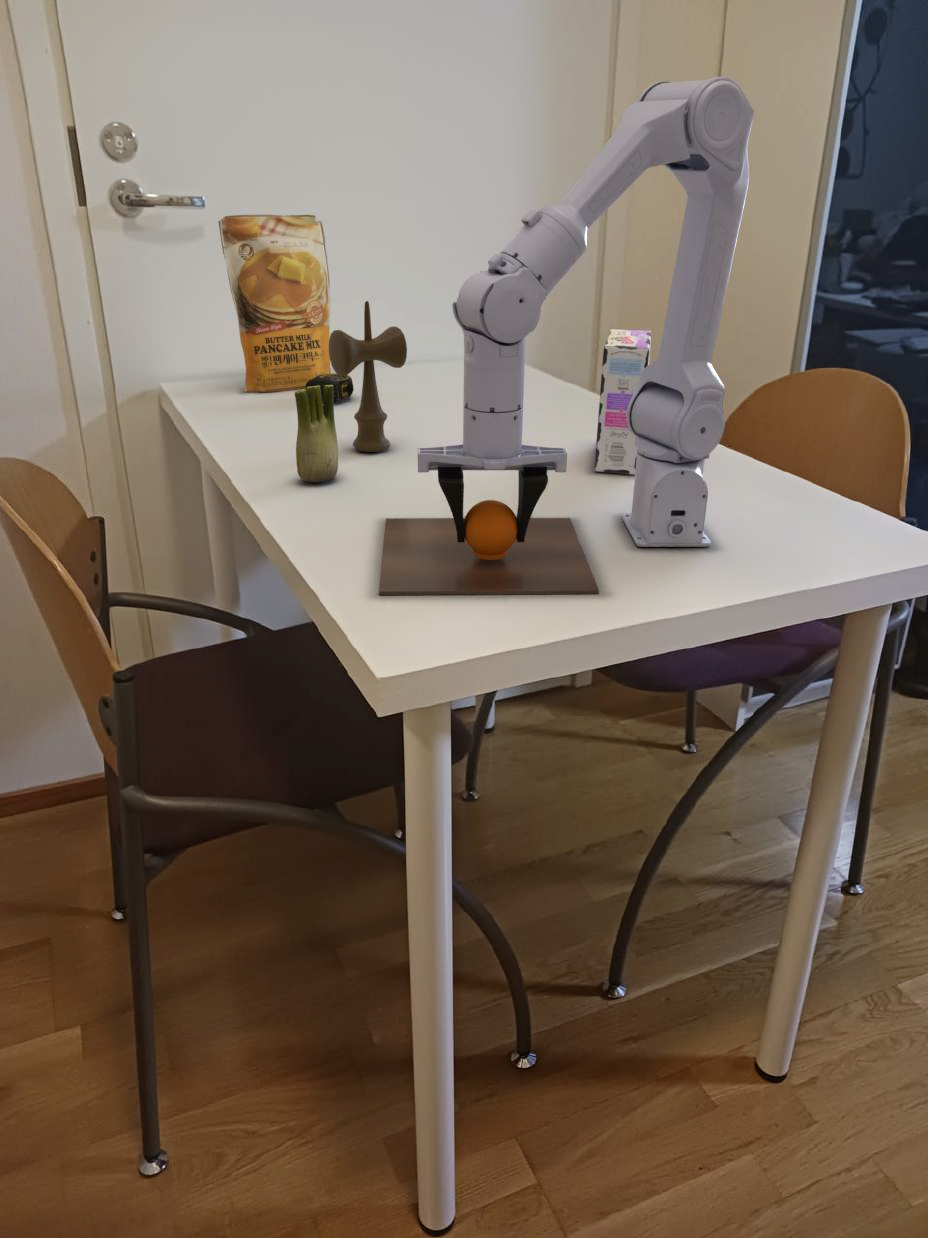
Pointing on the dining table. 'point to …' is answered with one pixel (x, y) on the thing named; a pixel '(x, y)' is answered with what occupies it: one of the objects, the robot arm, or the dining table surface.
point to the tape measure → (334, 385)
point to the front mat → (482, 561)
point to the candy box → (619, 399)
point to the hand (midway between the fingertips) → (489, 538)
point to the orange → (490, 529)
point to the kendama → (368, 375)
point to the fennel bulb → (316, 434)
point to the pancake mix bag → (279, 297)
